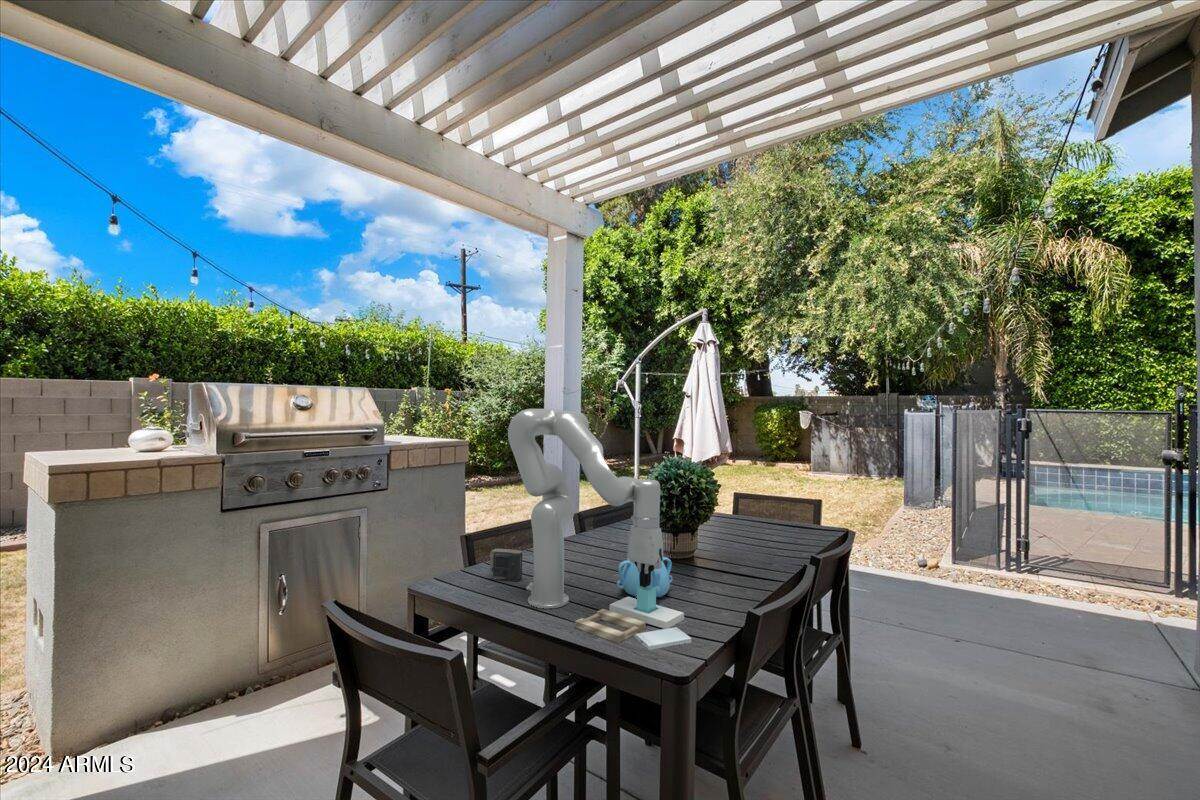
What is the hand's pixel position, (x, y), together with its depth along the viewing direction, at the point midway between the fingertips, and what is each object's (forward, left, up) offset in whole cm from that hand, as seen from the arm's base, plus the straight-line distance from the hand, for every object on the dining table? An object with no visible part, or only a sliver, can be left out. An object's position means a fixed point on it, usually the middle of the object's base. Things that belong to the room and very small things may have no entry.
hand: (644, 585), depth 160 cm
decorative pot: (-11, +15, -9) cm, 21 cm away
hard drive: (+13, -10, -9) cm, 19 cm away
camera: (-56, -5, -9) cm, 57 cm away
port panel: (0, 0, -9) cm, 9 cm away
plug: (0, 0, -9) cm, 9 cm away
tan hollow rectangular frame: (-2, -14, -9) cm, 16 cm away
